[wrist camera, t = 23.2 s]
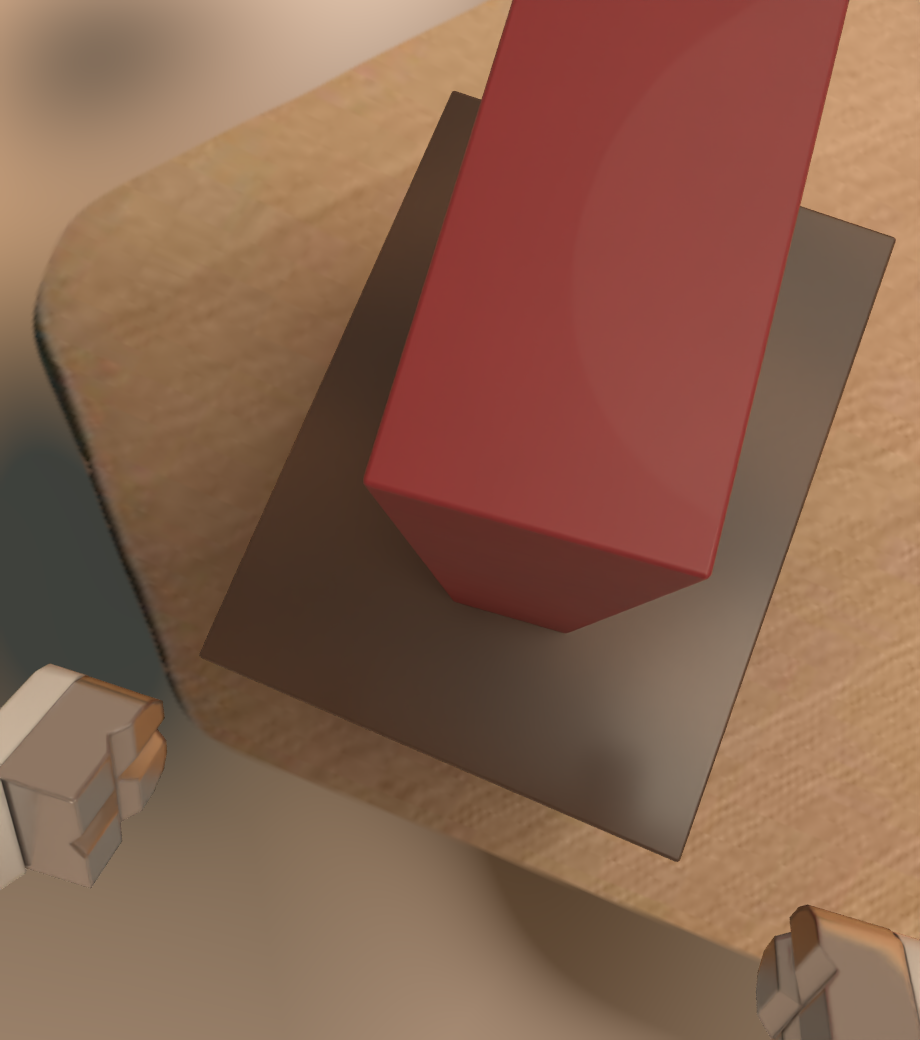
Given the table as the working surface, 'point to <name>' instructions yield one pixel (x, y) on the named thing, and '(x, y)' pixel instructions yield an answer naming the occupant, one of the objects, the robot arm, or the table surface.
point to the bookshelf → (510, 642)
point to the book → (603, 301)
